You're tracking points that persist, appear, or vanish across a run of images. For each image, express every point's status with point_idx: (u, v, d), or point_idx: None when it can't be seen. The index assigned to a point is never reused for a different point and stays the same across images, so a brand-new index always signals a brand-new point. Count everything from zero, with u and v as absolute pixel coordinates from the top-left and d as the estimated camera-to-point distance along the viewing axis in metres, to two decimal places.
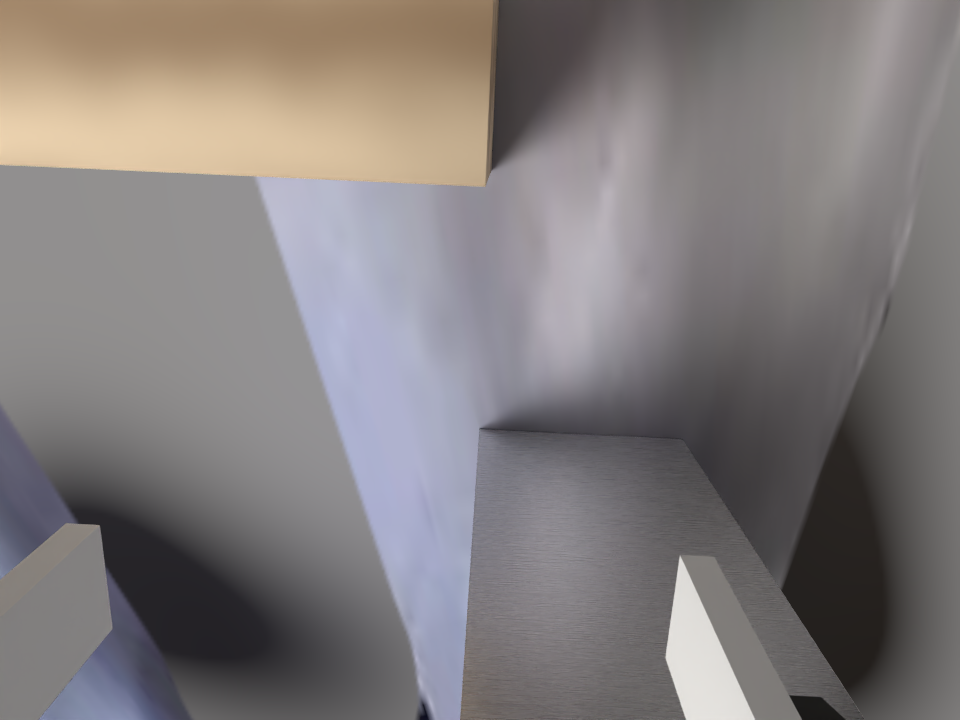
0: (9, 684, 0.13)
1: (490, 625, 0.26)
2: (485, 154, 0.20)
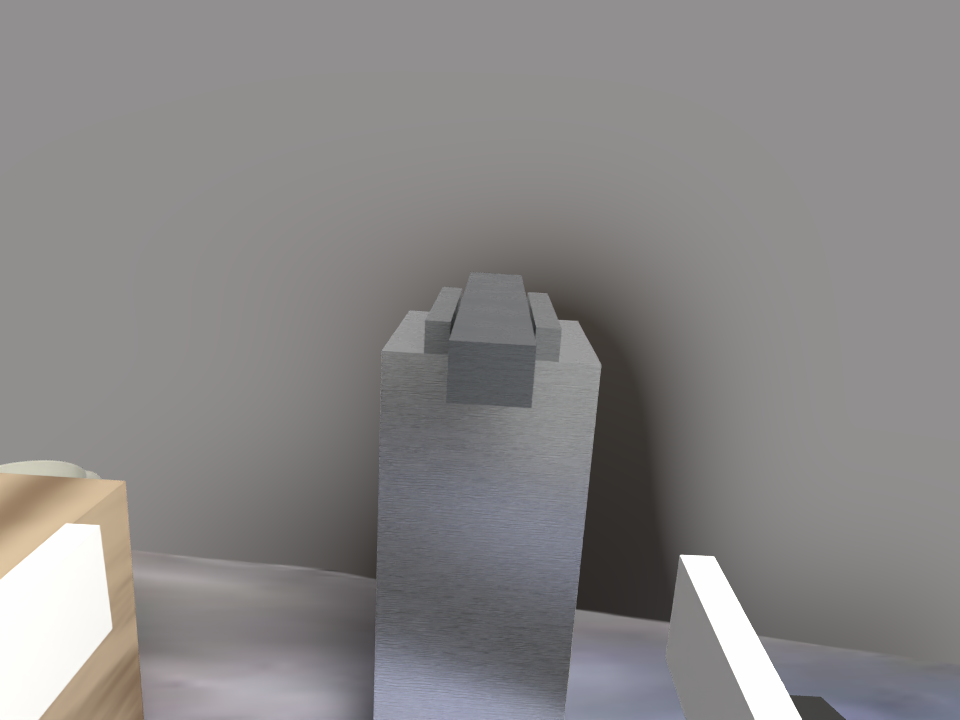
0: (9, 684, 0.13)
1: None
2: (110, 480, 0.44)
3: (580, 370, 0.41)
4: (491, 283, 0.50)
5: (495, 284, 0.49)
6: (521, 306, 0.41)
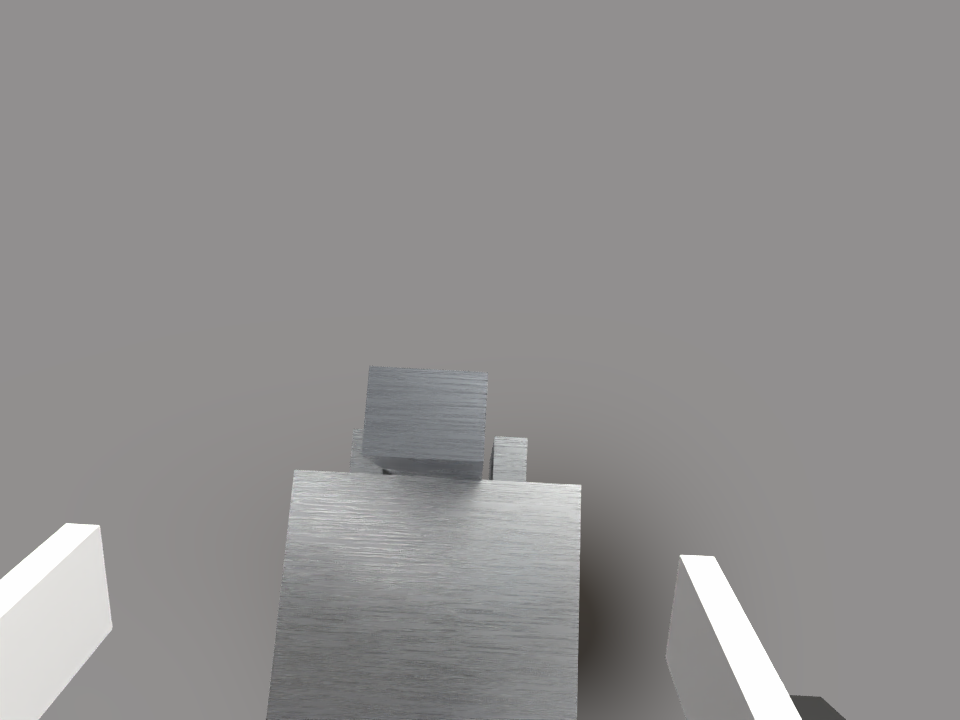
0: (9, 684, 0.13)
1: None
2: None
3: (555, 493, 0.31)
4: None
5: None
6: None
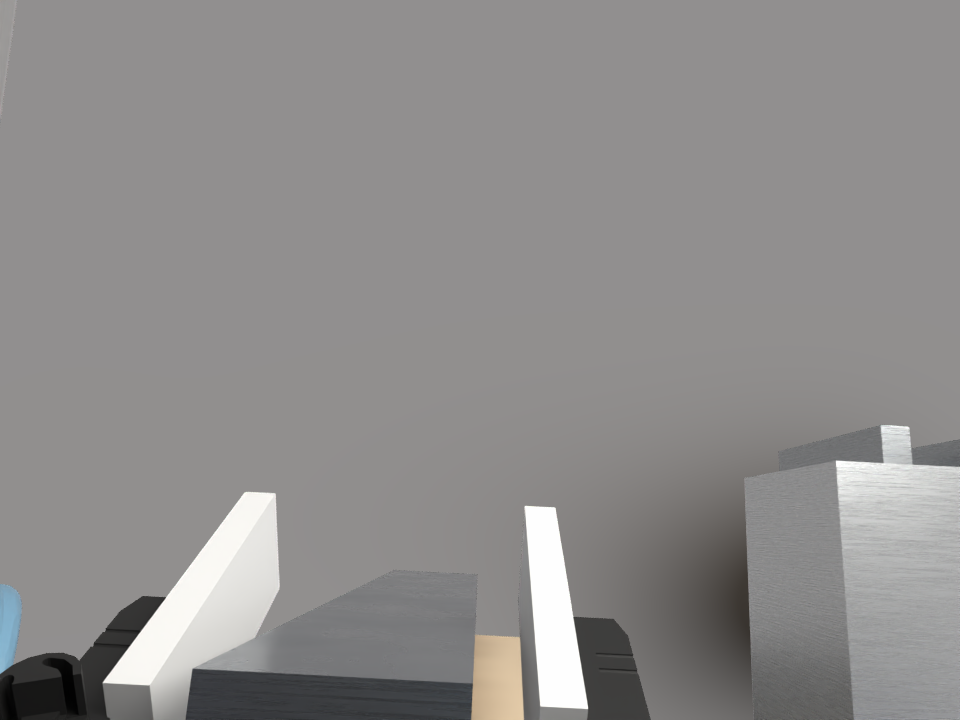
0: (229, 627, 0.14)
1: (841, 674, 0.35)
2: None
3: None
4: (419, 580, 0.28)
5: (426, 581, 0.28)
6: (461, 605, 0.20)
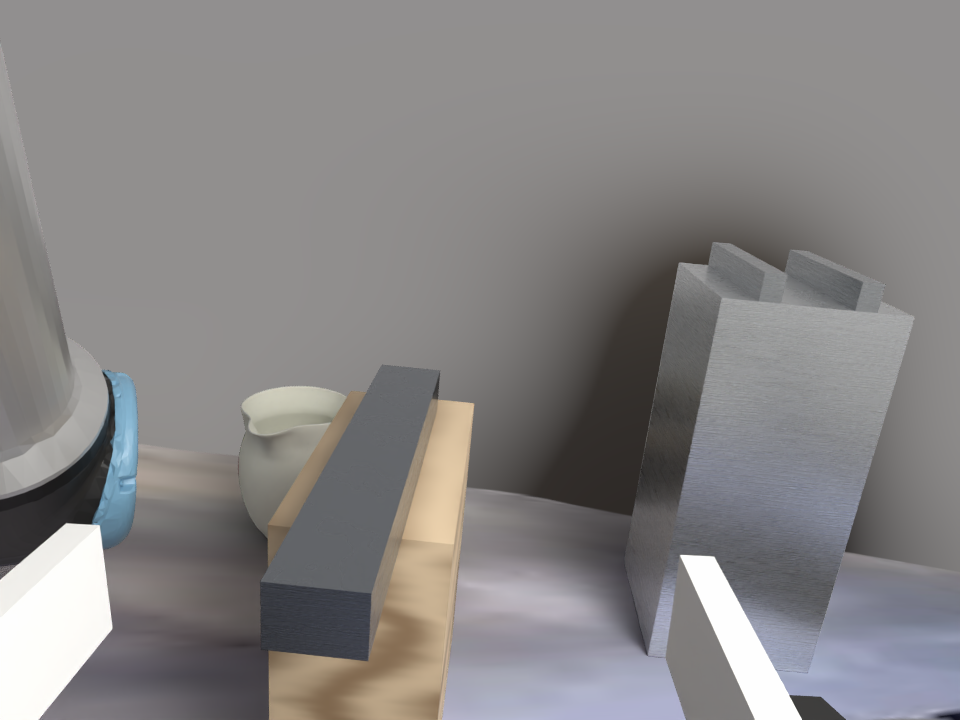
0: (9, 684, 0.13)
1: (689, 434, 0.51)
2: (461, 402, 0.50)
3: (895, 321, 0.47)
4: (393, 396, 0.42)
5: (397, 398, 0.42)
6: (403, 464, 0.34)
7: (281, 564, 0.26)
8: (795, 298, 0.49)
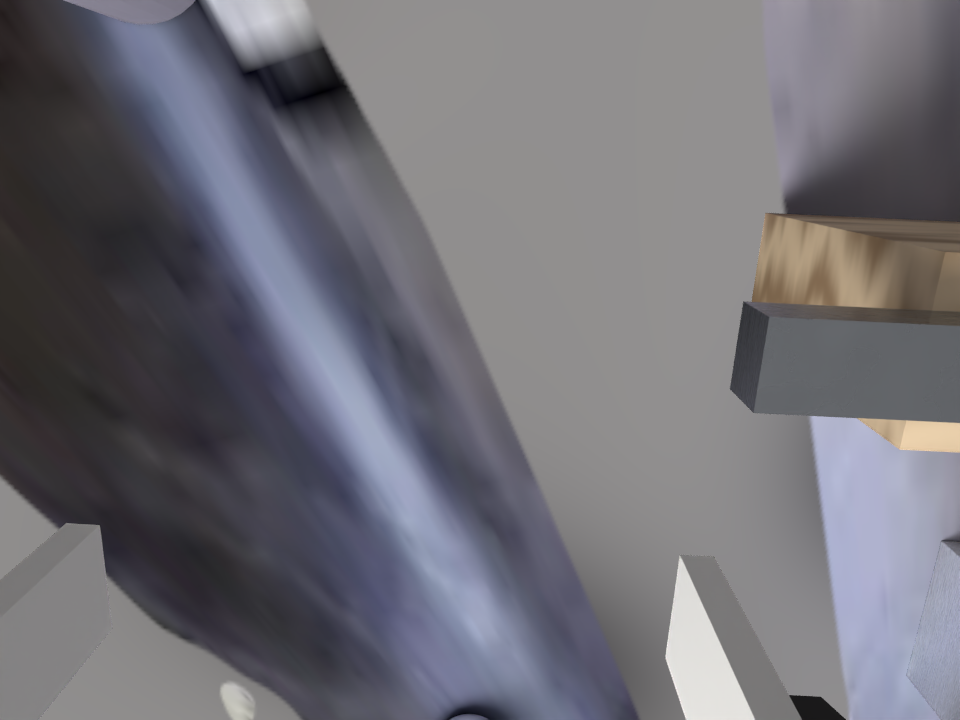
0: (9, 684, 0.13)
1: None
2: None
3: None
4: None
5: None
6: None
7: (795, 328, 0.27)
8: None
